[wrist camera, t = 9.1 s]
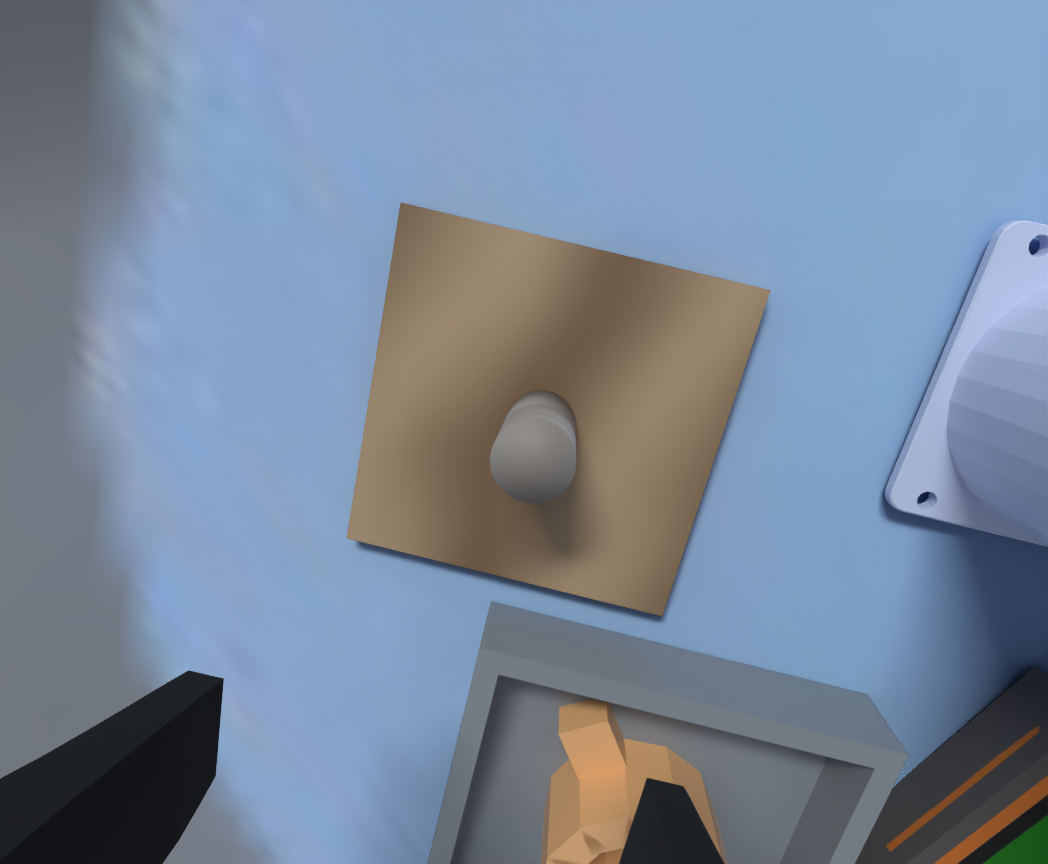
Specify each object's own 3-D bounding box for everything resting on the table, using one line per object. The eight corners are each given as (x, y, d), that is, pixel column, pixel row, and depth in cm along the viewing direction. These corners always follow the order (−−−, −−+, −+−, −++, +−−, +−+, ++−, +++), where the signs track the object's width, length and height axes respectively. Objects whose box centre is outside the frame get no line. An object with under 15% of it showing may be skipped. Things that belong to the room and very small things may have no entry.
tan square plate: (763, 289, 17) (822, 297, 13) (659, 605, 19) (680, 692, 16) (406, 204, 17) (355, 186, 13) (353, 530, 20) (297, 596, 16)
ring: (730, 852, 21) (754, 945, 18) (578, 884, 22) (579, 979, 19) (664, 678, 20) (679, 750, 17) (504, 722, 20) (492, 797, 18)
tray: (868, 694, 20) (908, 755, 17) (743, 965, 23) (763, 1047, 21) (491, 601, 20) (479, 647, 17) (423, 883, 23) (405, 954, 21)
